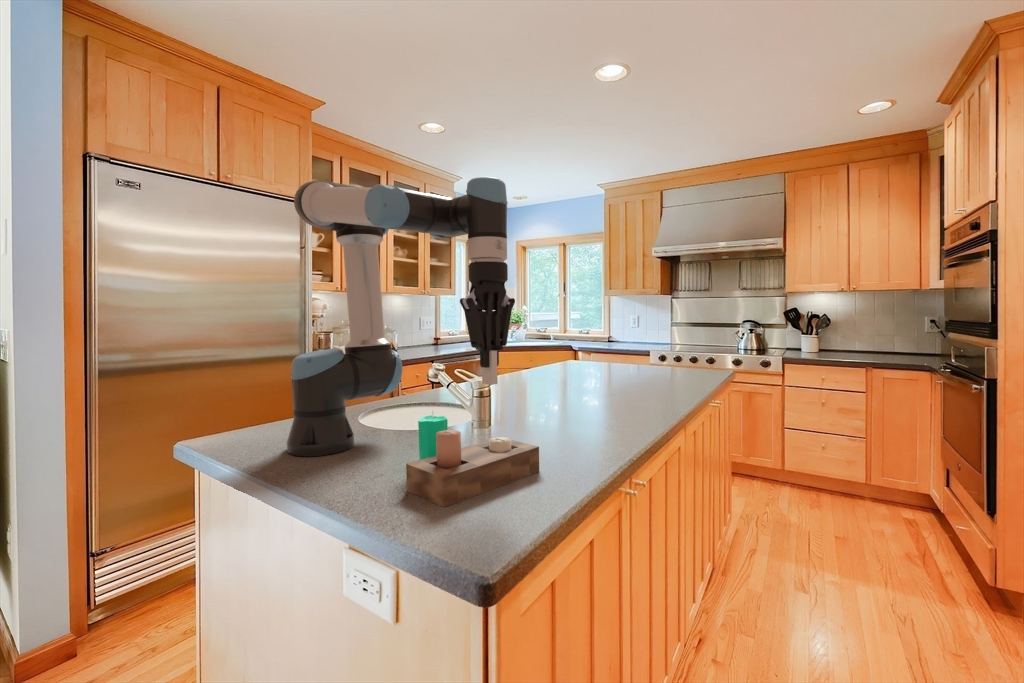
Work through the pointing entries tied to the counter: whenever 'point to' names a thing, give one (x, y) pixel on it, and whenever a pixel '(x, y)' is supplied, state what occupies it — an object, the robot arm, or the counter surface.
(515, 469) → the mount
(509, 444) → the knob far
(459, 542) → the counter surface
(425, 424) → the candle
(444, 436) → the knob near
